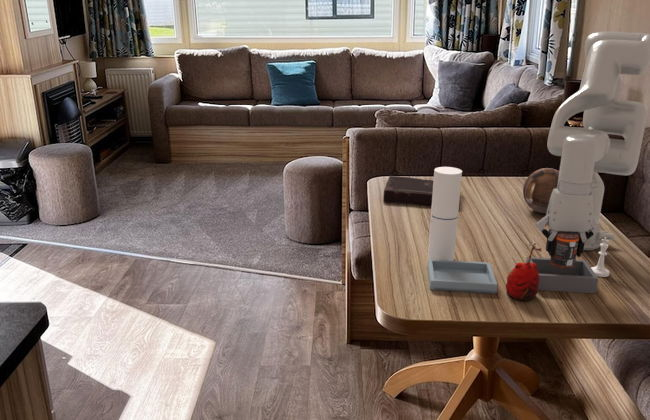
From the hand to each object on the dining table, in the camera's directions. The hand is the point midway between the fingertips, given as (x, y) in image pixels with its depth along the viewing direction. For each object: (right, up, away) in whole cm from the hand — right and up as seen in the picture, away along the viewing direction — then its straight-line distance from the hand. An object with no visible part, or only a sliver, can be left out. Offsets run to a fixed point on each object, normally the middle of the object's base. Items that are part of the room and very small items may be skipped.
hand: (563, 253), depth 159 cm
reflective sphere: (+13, +10, +52) cm, 54 cm away
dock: (0, -7, +2) cm, 8 cm away
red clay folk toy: (-12, -10, -6) cm, 17 cm away
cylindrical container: (-28, -2, +15) cm, 32 cm away
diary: (-26, +15, +65) cm, 72 cm away
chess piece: (+12, -6, +7) cm, 15 cm away
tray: (-26, -7, +2) cm, 27 cm away
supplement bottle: (0, -3, +1) cm, 3 cm away
